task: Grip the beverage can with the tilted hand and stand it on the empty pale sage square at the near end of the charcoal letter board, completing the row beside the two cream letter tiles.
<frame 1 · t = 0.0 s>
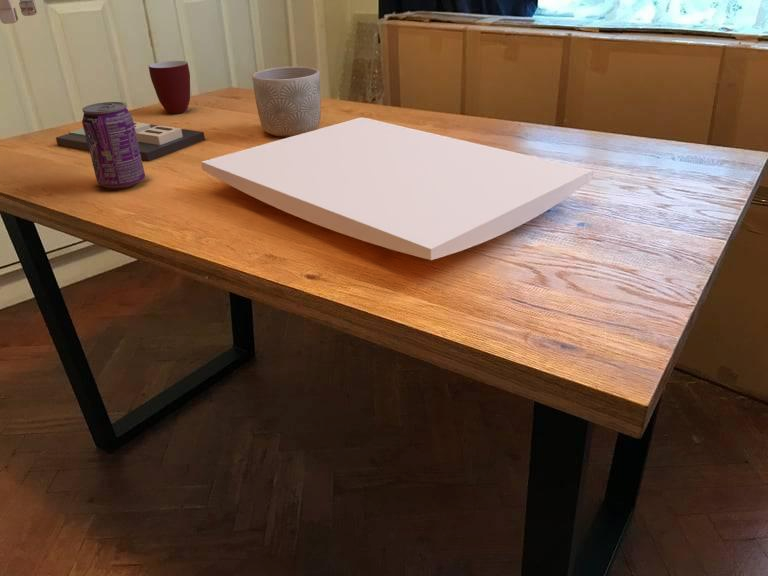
hand: (20, 19, 92), 24 cm above the table, tool pointing down, fingers open, 8 cm apart
mug: (177, 111, 145), on the table
board: (388, 198, 94), on the table
beverage can: (122, 184, 103), on the table
planter: (291, 132, 127), on the table
letter board: (131, 142, 124), on the table
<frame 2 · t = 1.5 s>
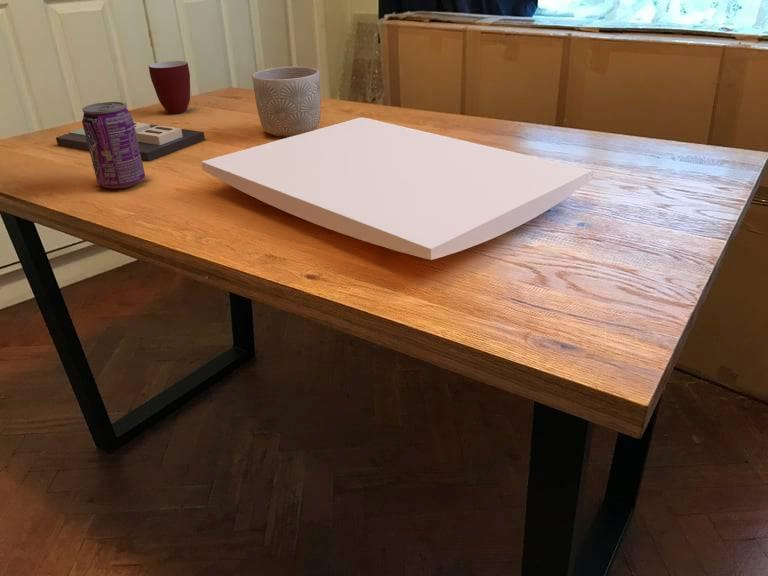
nothing on the table moved.
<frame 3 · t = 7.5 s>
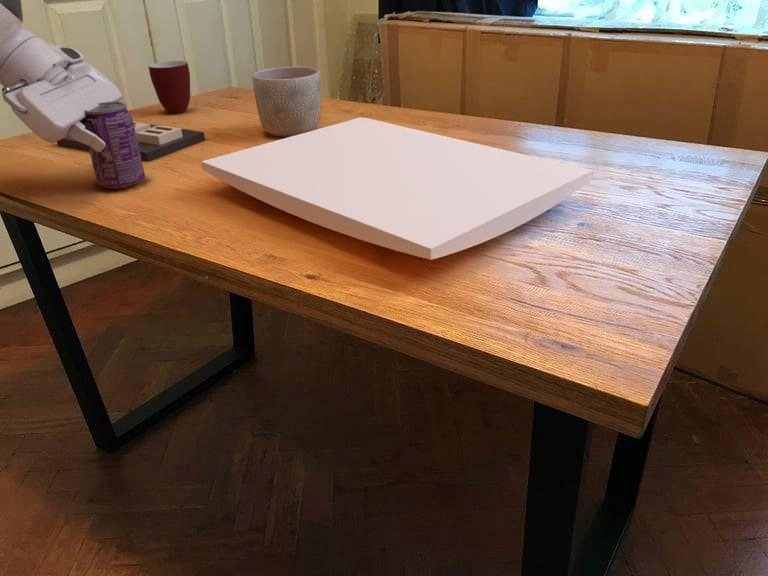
hand: (116, 139, 100), 7 cm above the table, tool tilted 45°, fingers closed on beverage can, 6 cm apart
beverage can: (122, 184, 103), on the table, touching gripper
everything else where it was.
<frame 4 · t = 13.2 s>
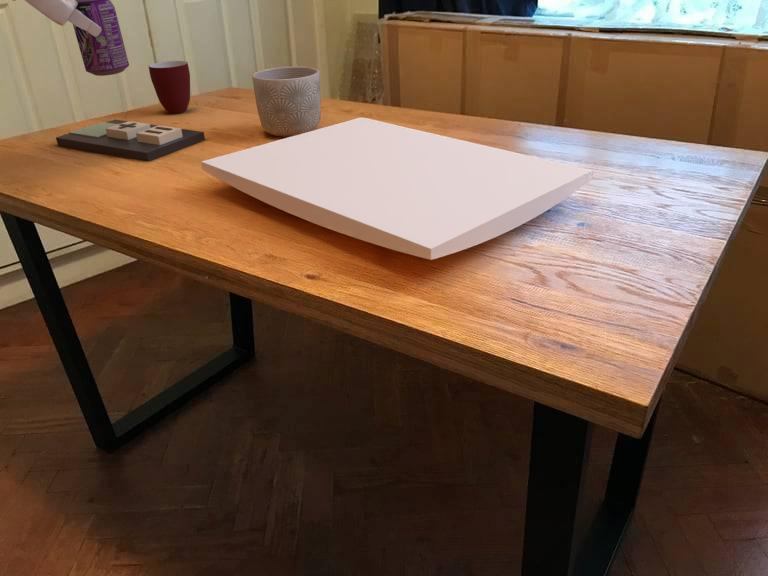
hand: (101, 29, 110), 20 cm above the table, tool tilted 45°, fingers closed on beverage can, 6 cm apart
beverage can: (109, 73, 114), point 13 cm above the table, touching gripper
everything else where it was.
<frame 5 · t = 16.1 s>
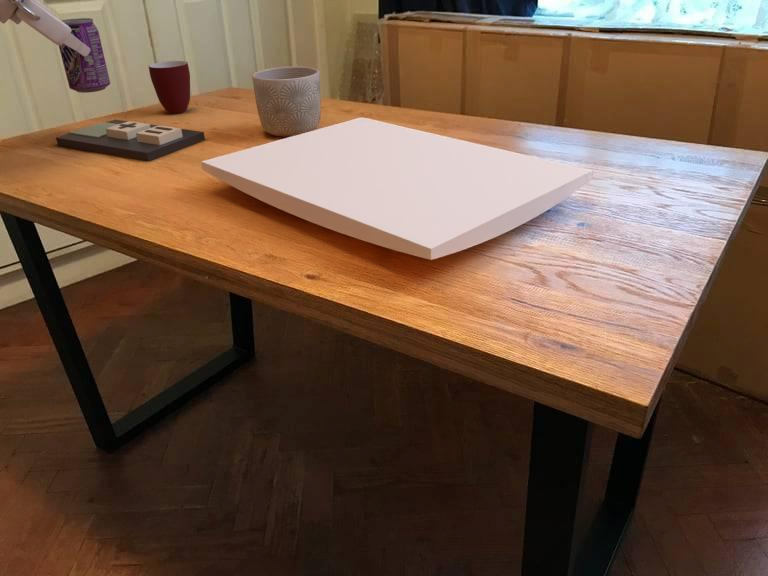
hand: (85, 50, 119), 16 cm above the table, tool tilted 45°, fingers closed on beverage can, 6 cm apart
beverage can: (91, 90, 122), point 9 cm above the table, touching gripper
everything else where it was.
when the fingers open (8 cm above the table, at t = 18.8 s): beverage can stays where it is, resting on letter board.
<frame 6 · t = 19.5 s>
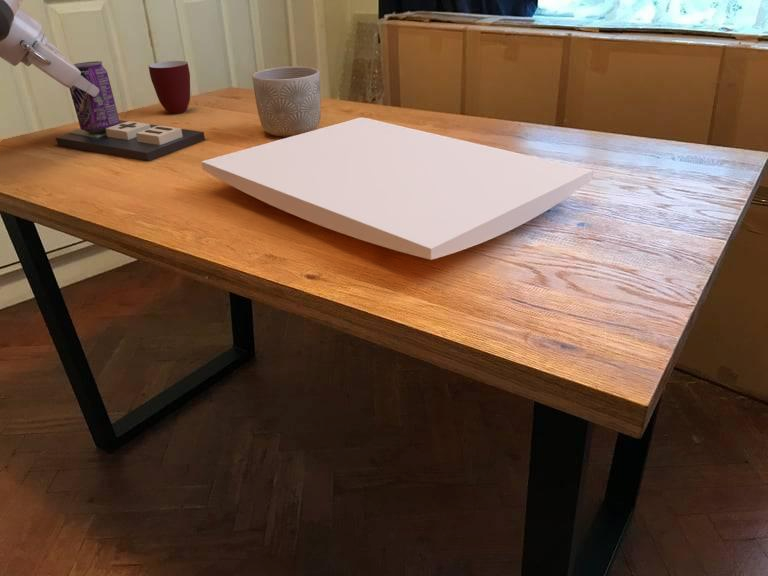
hand: (92, 88, 123), 9 cm above the table, tool tilted 45°, fingers open, 8 cm apart
beverage can: (101, 130, 125), point 2 cm above the table, touching gripper, letter board
everything else where it was.
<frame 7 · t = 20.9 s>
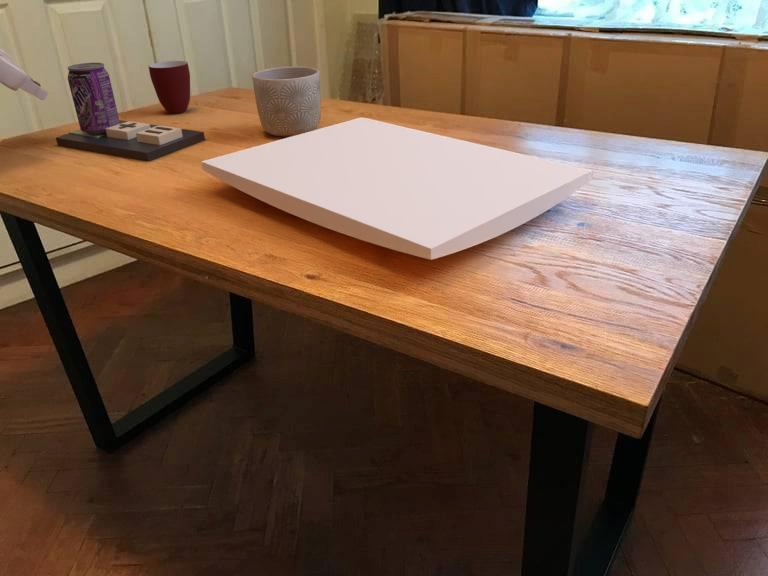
hand: (42, 92, 119), 10 cm above the table, tool tilted 45°, fingers open, 8 cm apart
beverage can: (102, 132, 125), point 2 cm above the table, touching letter board
everything else where it was.
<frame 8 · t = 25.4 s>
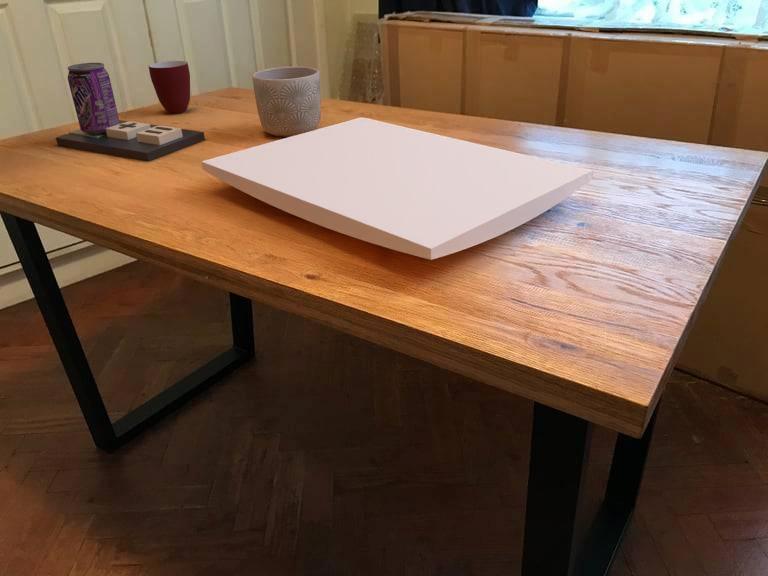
nothing on the table moved.
at the end: beverage can 1.9 cm from the target spot on the letter board, point 1.5 cm above the letter board's base; beverage can tilted 0°; the gripper is holding nothing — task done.
